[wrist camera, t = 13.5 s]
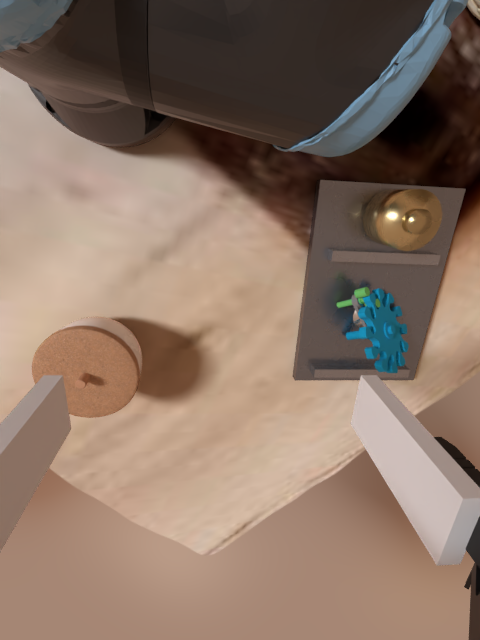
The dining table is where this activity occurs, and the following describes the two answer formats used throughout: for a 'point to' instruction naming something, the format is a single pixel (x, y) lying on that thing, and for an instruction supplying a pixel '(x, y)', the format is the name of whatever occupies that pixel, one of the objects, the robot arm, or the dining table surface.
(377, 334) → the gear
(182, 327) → the dining table surface
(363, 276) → the board
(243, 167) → the dining table surface
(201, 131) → the dining table surface
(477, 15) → the storage basket
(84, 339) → the lidded jar
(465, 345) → the dining table surface
